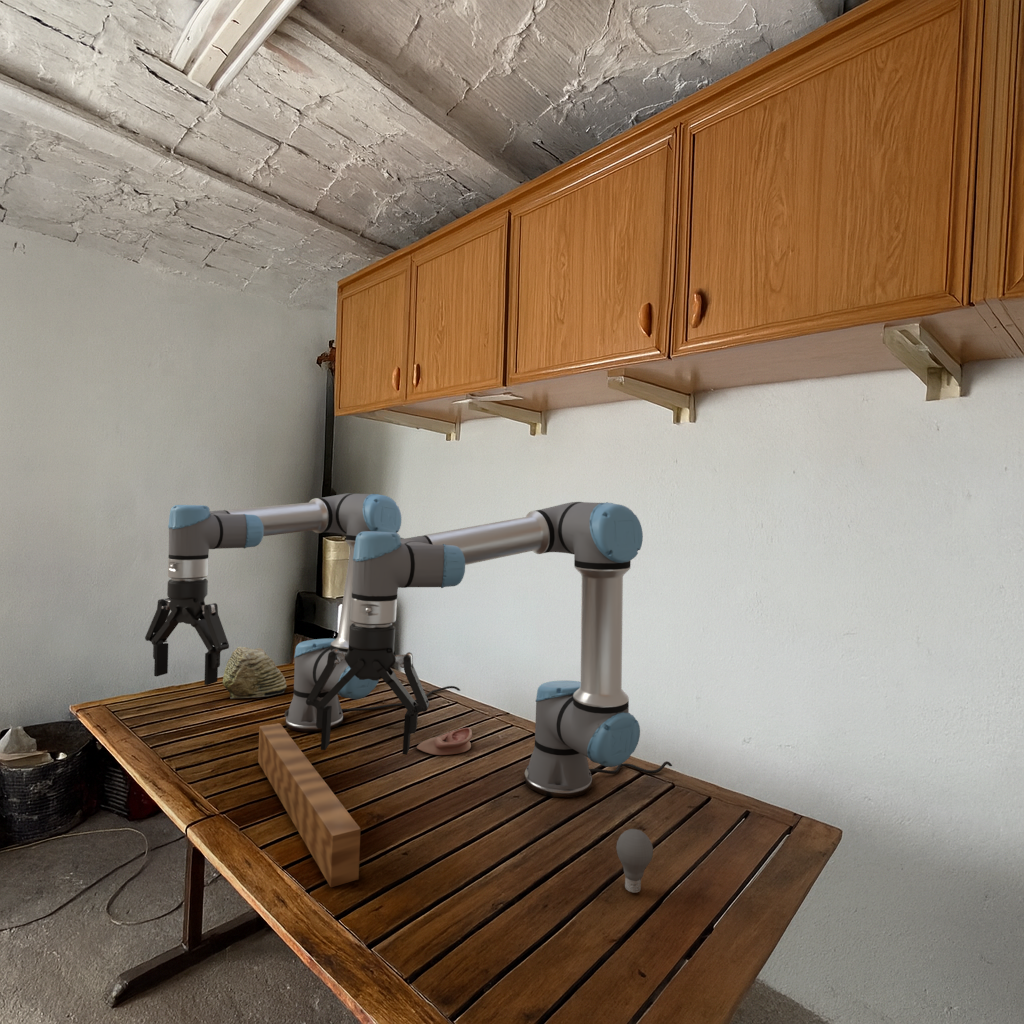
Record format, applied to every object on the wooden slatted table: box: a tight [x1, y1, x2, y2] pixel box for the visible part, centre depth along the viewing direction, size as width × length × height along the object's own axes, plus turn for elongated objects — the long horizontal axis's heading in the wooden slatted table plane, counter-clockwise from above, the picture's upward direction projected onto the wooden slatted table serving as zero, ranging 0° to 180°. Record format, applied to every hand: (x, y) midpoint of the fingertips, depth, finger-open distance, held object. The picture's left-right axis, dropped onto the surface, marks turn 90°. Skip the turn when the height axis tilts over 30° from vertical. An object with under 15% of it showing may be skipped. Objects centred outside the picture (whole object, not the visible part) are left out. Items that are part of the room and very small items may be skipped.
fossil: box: [222, 646, 288, 699], centre depth 198 cm, size 9×18×15 cm, turn 132°
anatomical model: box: [416, 727, 473, 756], centre depth 163 cm, size 13×4×12 cm
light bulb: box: [615, 828, 654, 894], centre depth 106 cm, size 6×6×10 cm
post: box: [257, 722, 361, 888], centre depth 128 cm, size 56×5×9 cm, turn 33°
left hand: (185, 679), depth 133 cm, fingers open, 13 cm apart
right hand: (365, 749), depth 106 cm, fingers open, 13 cm apart
